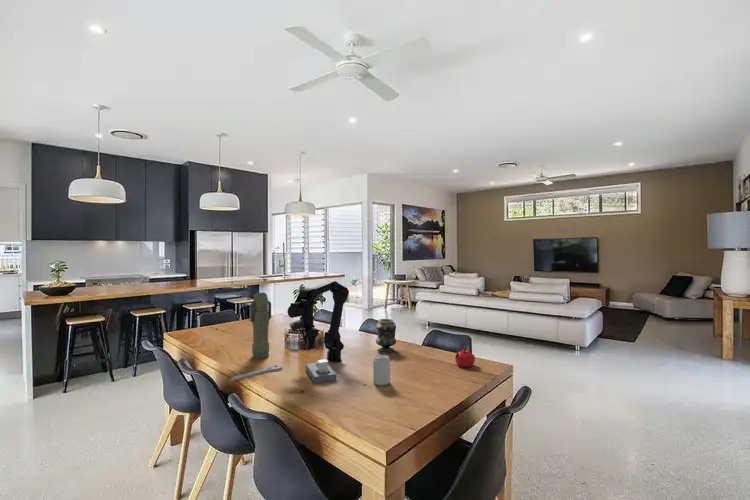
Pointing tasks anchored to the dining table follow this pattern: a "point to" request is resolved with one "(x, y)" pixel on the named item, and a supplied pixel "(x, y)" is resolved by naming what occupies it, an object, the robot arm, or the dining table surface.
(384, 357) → the can
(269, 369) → the adjustable wrench
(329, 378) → the socket plate
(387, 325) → the apothecary jar
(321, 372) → the steel peg
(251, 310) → the thermos
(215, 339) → the dining table surface
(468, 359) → the pomegranate
